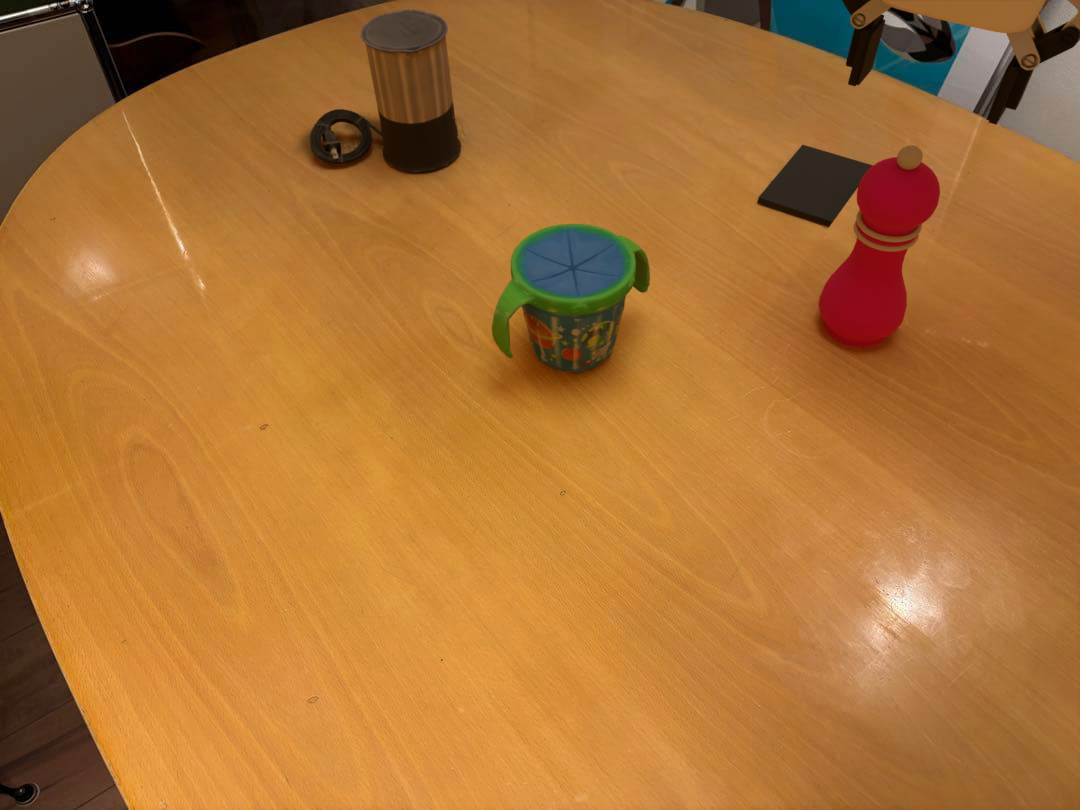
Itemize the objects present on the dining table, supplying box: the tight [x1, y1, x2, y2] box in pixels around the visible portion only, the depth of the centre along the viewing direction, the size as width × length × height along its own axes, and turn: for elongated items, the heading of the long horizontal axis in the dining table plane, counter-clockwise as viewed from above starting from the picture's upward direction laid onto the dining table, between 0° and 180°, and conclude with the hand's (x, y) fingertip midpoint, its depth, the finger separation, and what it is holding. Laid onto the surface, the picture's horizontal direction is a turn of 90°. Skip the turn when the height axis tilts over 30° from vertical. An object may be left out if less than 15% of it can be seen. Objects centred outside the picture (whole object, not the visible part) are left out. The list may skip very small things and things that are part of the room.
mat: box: [757, 144, 874, 228], centre depth 93 cm, size 20×12×1 cm, turn 56°
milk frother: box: [309, 8, 462, 173], centre depth 97 cm, size 14×16×15 cm
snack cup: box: [491, 223, 651, 375], centre depth 76 cm, size 16×10×10 cm
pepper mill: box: [818, 144, 941, 348], centre depth 72 cm, size 7×7×20 cm
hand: (926, 95), depth 61 cm, fingers open, 9 cm apart
